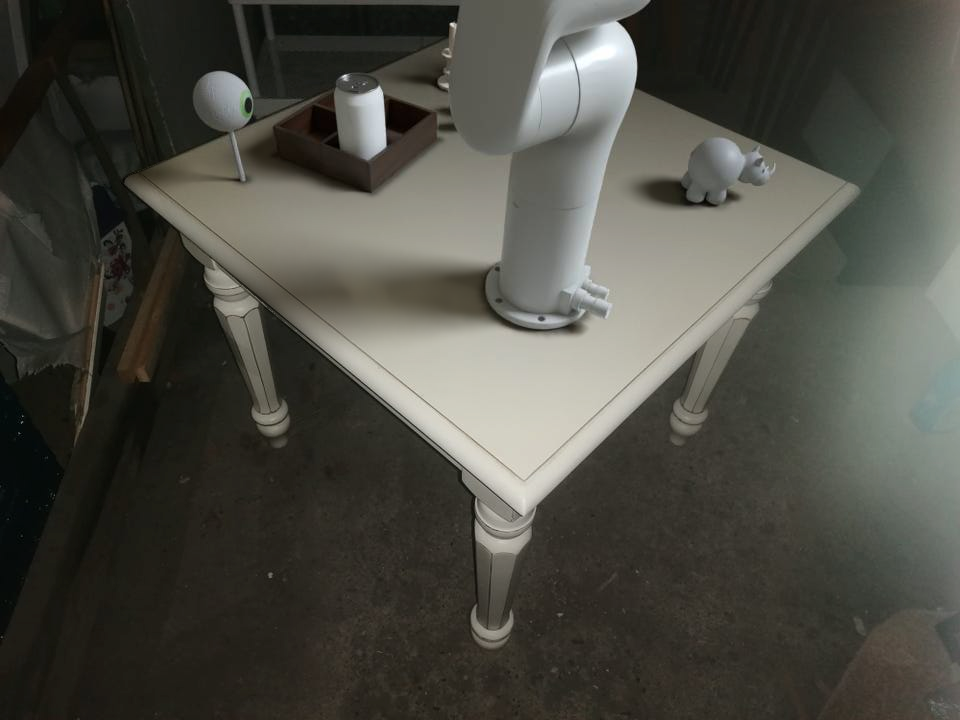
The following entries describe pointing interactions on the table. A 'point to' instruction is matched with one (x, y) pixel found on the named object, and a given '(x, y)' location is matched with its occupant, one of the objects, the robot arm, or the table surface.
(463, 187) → the table surface
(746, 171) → the toy rhinoceros
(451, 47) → the candle
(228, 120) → the lollipop
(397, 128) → the divided tray
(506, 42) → the robot arm
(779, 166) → the table surface
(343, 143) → the can
